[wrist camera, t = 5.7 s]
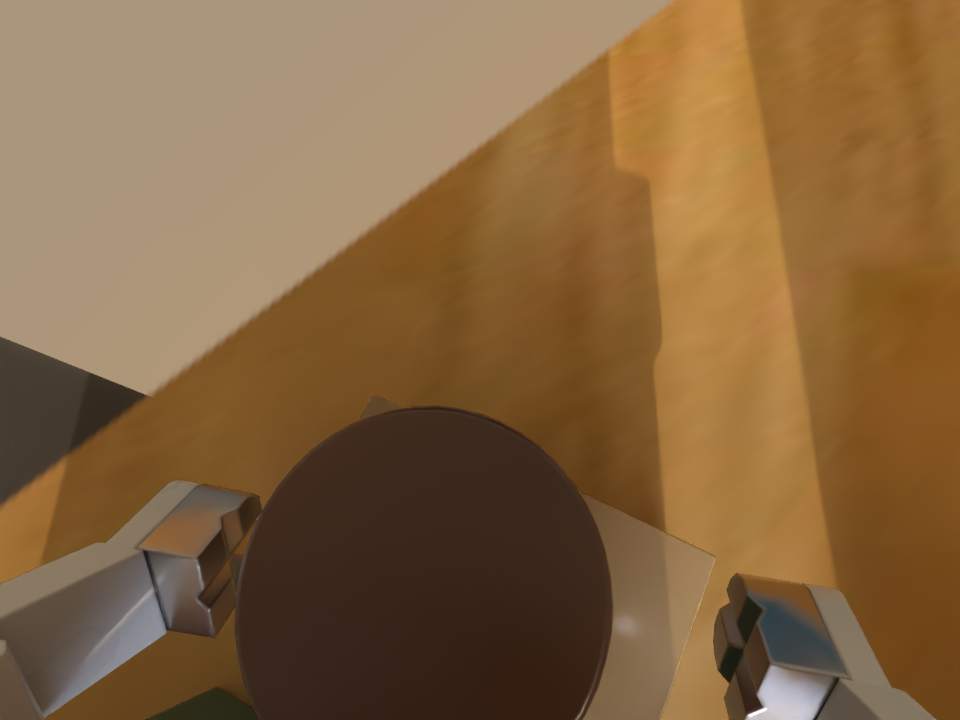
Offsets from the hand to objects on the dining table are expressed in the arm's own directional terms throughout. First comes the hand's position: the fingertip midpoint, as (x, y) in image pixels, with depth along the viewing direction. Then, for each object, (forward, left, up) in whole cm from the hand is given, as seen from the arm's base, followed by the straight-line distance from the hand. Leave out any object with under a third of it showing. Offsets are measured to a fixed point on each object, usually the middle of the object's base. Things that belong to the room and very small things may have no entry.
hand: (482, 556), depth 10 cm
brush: (0, 0, -8) cm, 8 cm away
